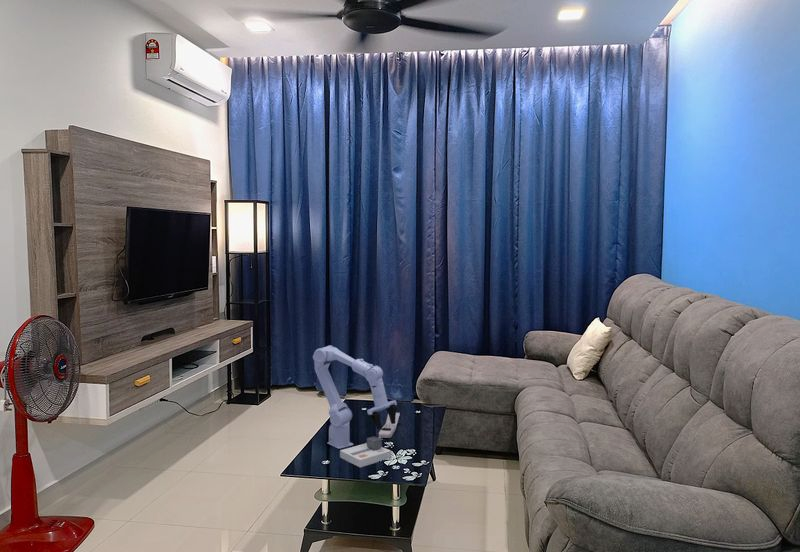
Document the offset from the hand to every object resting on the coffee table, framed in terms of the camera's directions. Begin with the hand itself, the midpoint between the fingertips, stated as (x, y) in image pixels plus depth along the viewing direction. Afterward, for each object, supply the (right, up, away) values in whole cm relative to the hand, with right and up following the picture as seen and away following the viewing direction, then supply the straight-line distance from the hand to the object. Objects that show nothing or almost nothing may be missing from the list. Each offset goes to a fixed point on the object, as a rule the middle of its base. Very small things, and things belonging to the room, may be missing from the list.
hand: (386, 426), depth 245 cm
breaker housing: (-9, -12, -5) cm, 15 cm away
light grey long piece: (0, -10, +28) cm, 30 cm away
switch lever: (-5, -8, -3) cm, 10 cm away
